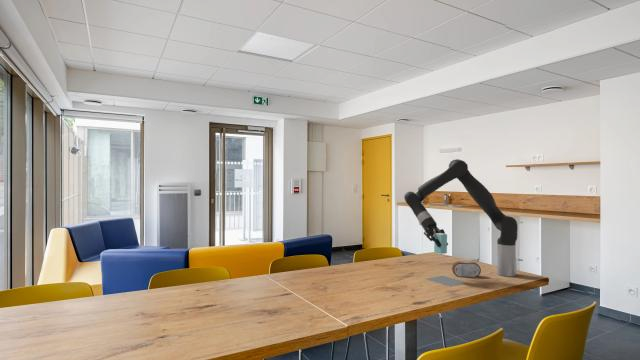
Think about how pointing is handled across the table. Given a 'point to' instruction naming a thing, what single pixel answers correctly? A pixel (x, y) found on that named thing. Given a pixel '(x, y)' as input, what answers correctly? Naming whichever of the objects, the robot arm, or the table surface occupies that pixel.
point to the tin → (466, 269)
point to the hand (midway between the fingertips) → (443, 245)
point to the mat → (446, 281)
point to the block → (443, 241)
